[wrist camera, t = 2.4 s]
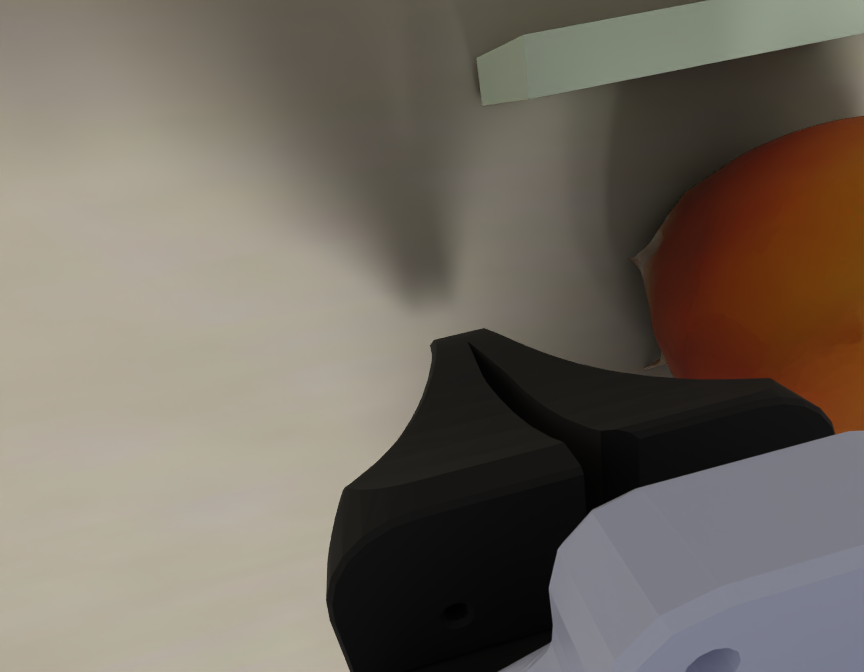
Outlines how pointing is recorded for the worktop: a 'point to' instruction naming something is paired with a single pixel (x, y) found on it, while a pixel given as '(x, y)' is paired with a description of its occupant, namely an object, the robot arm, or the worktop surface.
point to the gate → (658, 44)
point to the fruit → (769, 271)
